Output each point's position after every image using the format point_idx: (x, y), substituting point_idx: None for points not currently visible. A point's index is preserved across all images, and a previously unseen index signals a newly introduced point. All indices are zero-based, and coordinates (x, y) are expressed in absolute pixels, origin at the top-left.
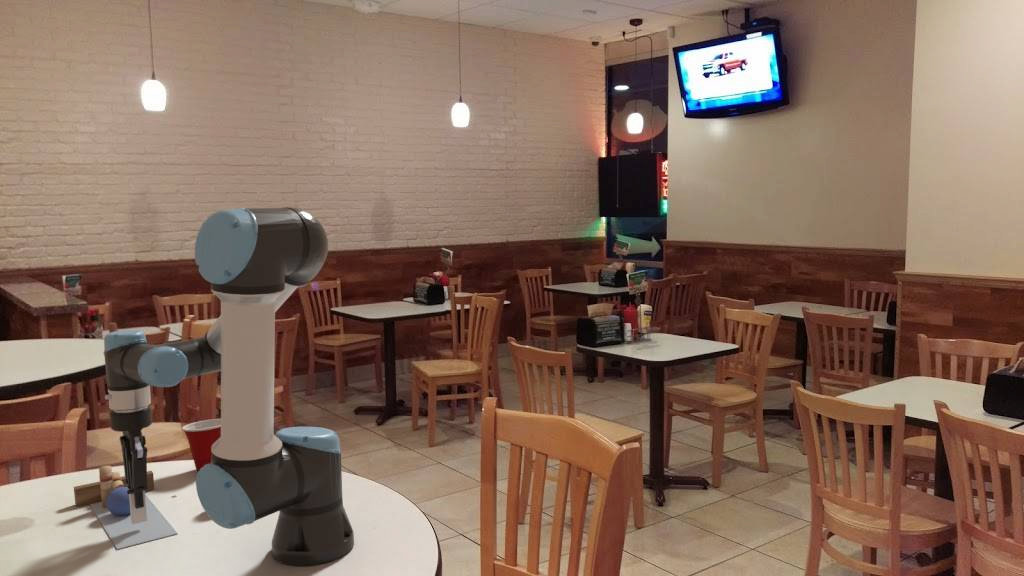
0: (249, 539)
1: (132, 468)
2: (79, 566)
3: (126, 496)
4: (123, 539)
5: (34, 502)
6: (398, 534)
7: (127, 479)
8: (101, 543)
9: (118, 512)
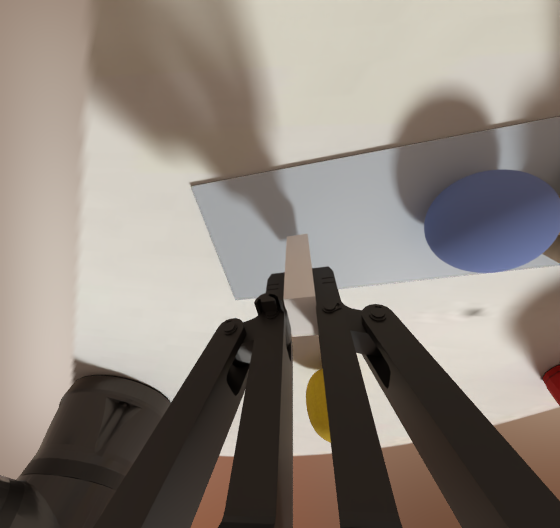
0: (172, 366)
1: (162, 465)
2: (95, 73)
3: (453, 249)
4: (250, 202)
5: None
6: None
7: (348, 333)
8: (257, 142)
9: (433, 201)
